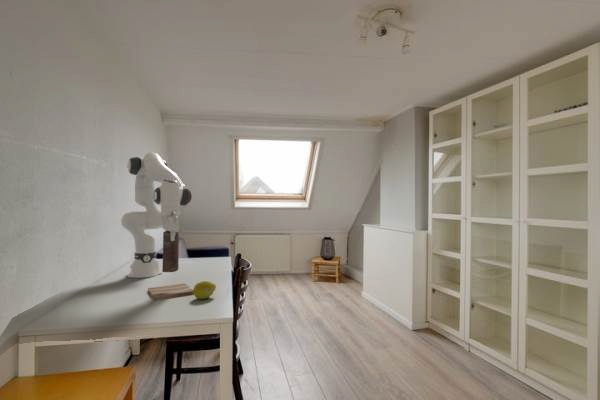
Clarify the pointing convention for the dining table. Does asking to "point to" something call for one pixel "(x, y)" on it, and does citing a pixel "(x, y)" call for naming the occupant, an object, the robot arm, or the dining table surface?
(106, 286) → the dining table surface
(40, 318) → the dining table surface
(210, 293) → the lemon
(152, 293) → the walnut board
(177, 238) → the wooden log
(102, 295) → the dining table surface
